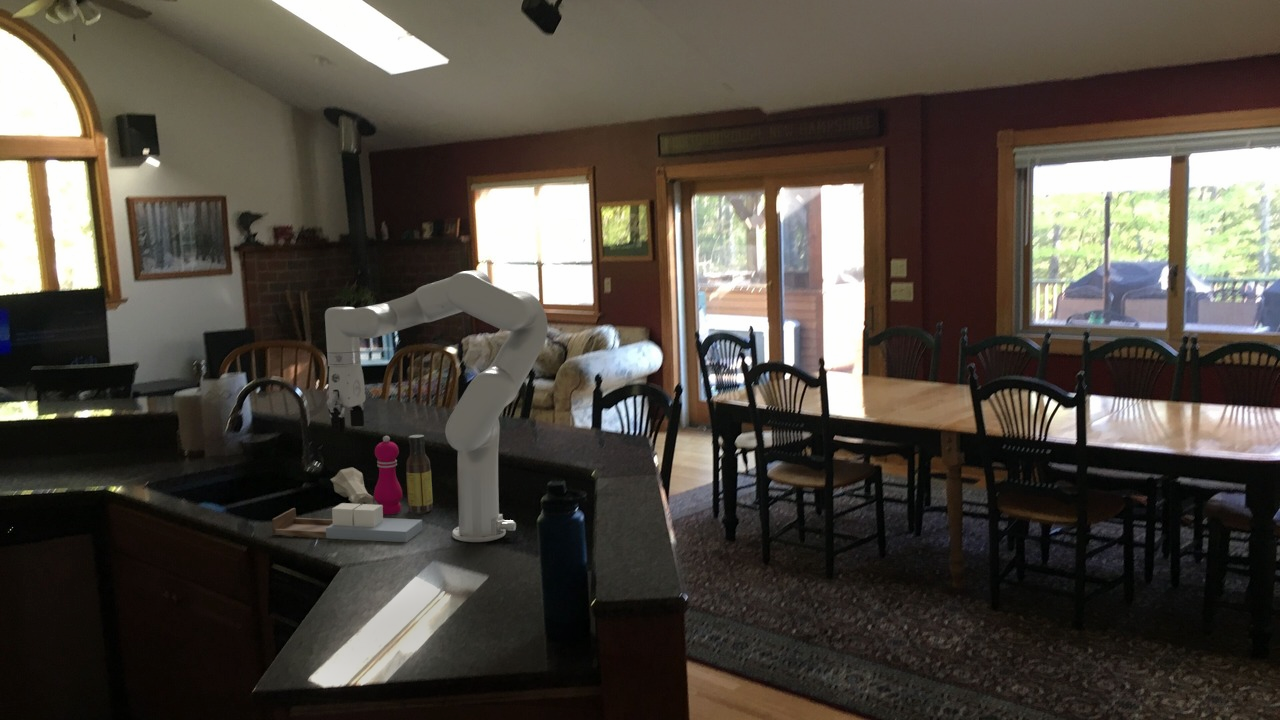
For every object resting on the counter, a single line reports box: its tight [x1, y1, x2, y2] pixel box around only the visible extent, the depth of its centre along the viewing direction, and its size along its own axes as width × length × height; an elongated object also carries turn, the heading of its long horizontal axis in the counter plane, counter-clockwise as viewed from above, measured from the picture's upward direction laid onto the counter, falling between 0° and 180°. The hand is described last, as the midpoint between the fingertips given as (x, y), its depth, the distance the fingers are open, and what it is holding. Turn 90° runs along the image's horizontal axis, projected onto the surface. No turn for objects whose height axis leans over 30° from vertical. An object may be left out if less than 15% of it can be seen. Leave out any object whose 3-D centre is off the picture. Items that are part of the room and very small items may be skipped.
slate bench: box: [325, 517, 424, 543], centre depth 235 cm, size 20×10×2 cm, turn 81°
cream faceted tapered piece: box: [329, 467, 375, 505], centre depth 262 cm, size 9×8×25 cm
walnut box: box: [271, 507, 333, 539], centre depth 238 cm, size 14×10×4 cm
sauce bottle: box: [405, 434, 434, 514], centre depth 254 cm, size 6×6×20 cm
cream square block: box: [331, 502, 361, 526], centre depth 236 cm, size 5×5×4 cm
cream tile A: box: [354, 504, 384, 527], centre depth 235 cm, size 5×5×4 cm
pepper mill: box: [373, 435, 403, 516], centre depth 254 cm, size 7×7×20 cm
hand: (348, 429), depth 235 cm, fingers open, 9 cm apart
